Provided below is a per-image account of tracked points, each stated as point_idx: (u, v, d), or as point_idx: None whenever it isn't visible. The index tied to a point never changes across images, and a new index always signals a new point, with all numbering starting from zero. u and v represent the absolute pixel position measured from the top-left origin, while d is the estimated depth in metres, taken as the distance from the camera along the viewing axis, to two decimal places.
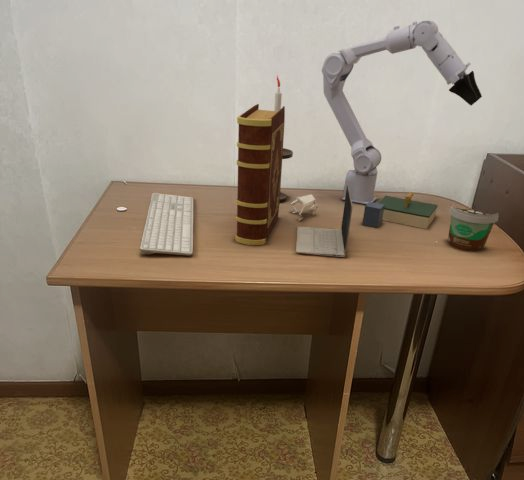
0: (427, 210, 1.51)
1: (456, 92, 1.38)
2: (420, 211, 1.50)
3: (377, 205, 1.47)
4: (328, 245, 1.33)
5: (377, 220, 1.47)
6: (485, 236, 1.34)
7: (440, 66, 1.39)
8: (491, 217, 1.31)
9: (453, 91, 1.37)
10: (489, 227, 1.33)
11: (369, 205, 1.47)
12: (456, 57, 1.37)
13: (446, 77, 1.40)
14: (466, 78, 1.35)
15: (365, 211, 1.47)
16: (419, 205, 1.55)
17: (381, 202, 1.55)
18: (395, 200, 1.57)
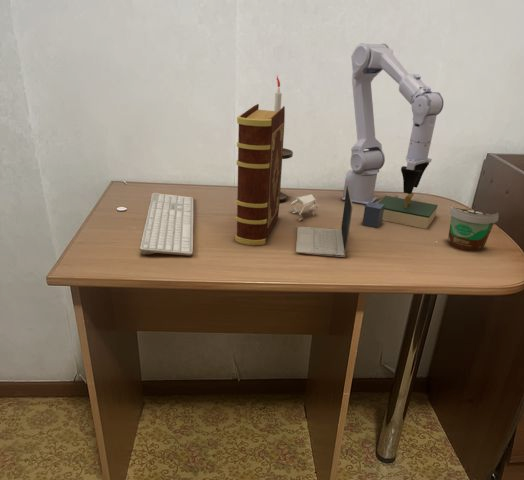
0: (427, 210, 1.51)
1: (403, 175, 1.45)
2: (420, 211, 1.50)
3: (377, 205, 1.47)
4: (328, 245, 1.33)
5: (377, 220, 1.47)
6: (485, 236, 1.34)
7: (412, 142, 1.43)
8: (491, 217, 1.31)
9: (402, 172, 1.45)
10: (489, 227, 1.33)
11: (369, 205, 1.47)
12: (427, 148, 1.43)
13: (409, 154, 1.45)
14: (417, 174, 1.43)
15: (365, 211, 1.47)
16: (419, 205, 1.55)
17: (381, 202, 1.55)
18: (395, 200, 1.57)
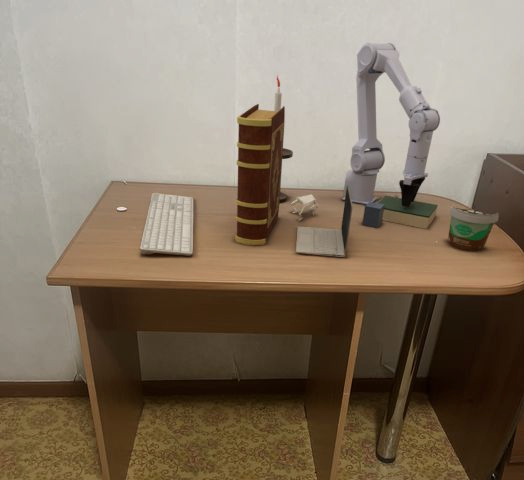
0: (427, 210, 1.51)
1: (402, 188, 1.48)
2: (420, 211, 1.50)
3: (377, 205, 1.47)
4: (328, 245, 1.33)
5: (377, 220, 1.47)
6: (485, 236, 1.34)
7: (409, 157, 1.45)
8: (491, 217, 1.31)
9: (400, 186, 1.48)
10: (489, 227, 1.33)
11: (369, 205, 1.47)
12: (424, 163, 1.45)
13: (406, 169, 1.47)
14: (415, 187, 1.46)
15: (365, 211, 1.47)
16: (419, 205, 1.55)
17: (381, 202, 1.55)
18: (395, 200, 1.57)
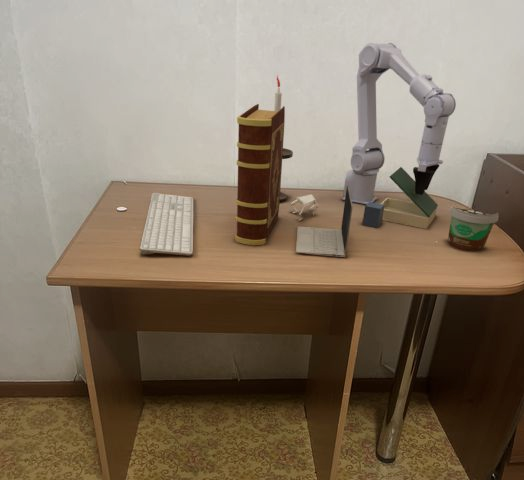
0: (429, 207, 1.50)
1: (415, 175, 1.45)
2: (424, 205, 1.49)
3: (377, 205, 1.47)
4: (328, 245, 1.33)
5: (377, 220, 1.47)
6: (485, 236, 1.34)
7: (424, 144, 1.42)
8: (491, 217, 1.31)
9: (414, 173, 1.44)
10: (489, 227, 1.33)
11: (369, 205, 1.47)
12: (439, 149, 1.42)
13: (420, 155, 1.44)
14: (429, 174, 1.43)
15: (365, 211, 1.47)
16: (424, 196, 1.53)
17: (396, 174, 1.50)
18: (407, 179, 1.53)
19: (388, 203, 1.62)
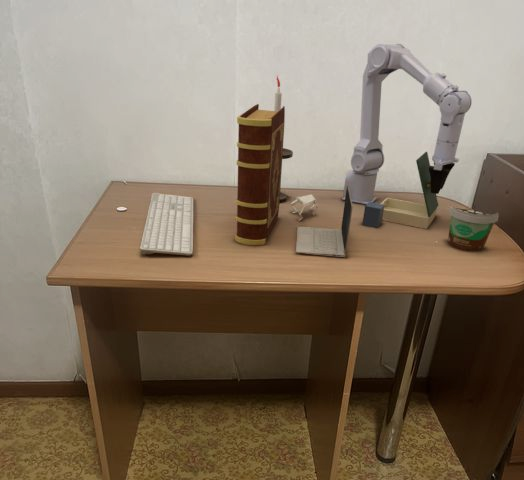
0: (432, 206, 1.50)
1: (431, 174, 1.43)
2: (430, 203, 1.48)
3: (377, 205, 1.47)
4: (328, 245, 1.33)
5: (377, 220, 1.47)
6: (485, 236, 1.34)
7: (440, 142, 1.40)
8: (491, 217, 1.31)
9: (430, 172, 1.42)
10: (489, 227, 1.33)
11: (369, 205, 1.47)
12: (455, 147, 1.40)
13: (435, 154, 1.42)
14: (446, 173, 1.40)
15: (365, 211, 1.47)
16: (432, 193, 1.51)
17: (421, 159, 1.45)
18: (427, 168, 1.49)
19: (388, 203, 1.62)
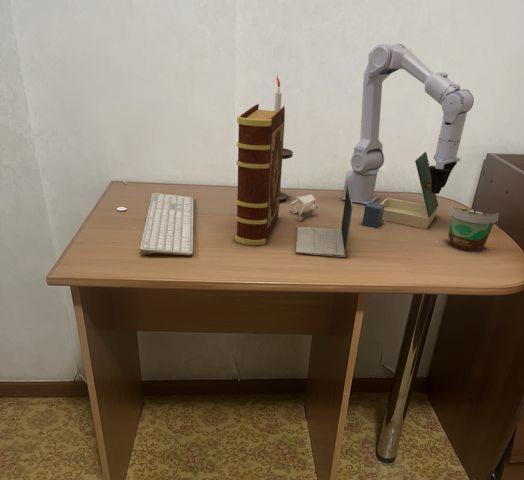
0: (432, 206, 1.50)
1: (432, 174, 1.42)
2: (429, 203, 1.48)
3: (377, 205, 1.47)
4: (328, 245, 1.33)
5: (377, 220, 1.47)
6: (485, 236, 1.34)
7: (441, 141, 1.39)
8: (491, 217, 1.31)
9: (431, 171, 1.41)
10: (489, 227, 1.33)
11: (369, 205, 1.47)
12: (456, 146, 1.39)
13: (437, 153, 1.42)
14: (446, 173, 1.39)
15: (365, 211, 1.47)
16: (432, 193, 1.51)
17: (421, 160, 1.45)
18: (426, 168, 1.49)
19: (388, 203, 1.62)
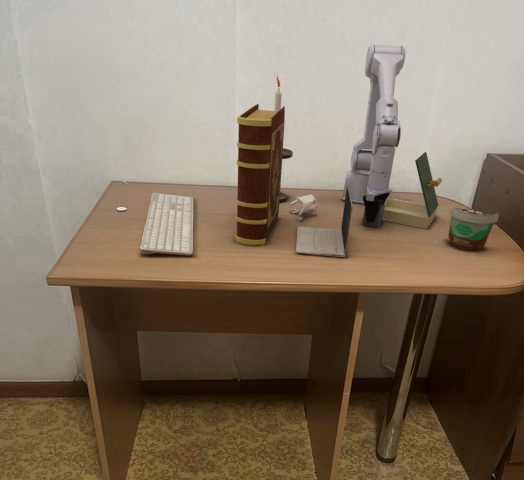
0: (432, 206, 1.50)
1: (365, 204, 1.44)
2: (429, 203, 1.48)
3: None
4: (328, 245, 1.33)
5: (377, 220, 1.47)
6: (485, 236, 1.34)
7: (372, 173, 1.41)
8: (491, 217, 1.31)
9: (364, 201, 1.44)
10: (489, 227, 1.33)
11: None
12: (387, 178, 1.41)
13: (369, 184, 1.43)
14: (379, 203, 1.42)
15: (365, 211, 1.47)
16: (432, 193, 1.51)
17: (421, 160, 1.45)
18: (426, 168, 1.49)
19: (388, 203, 1.62)
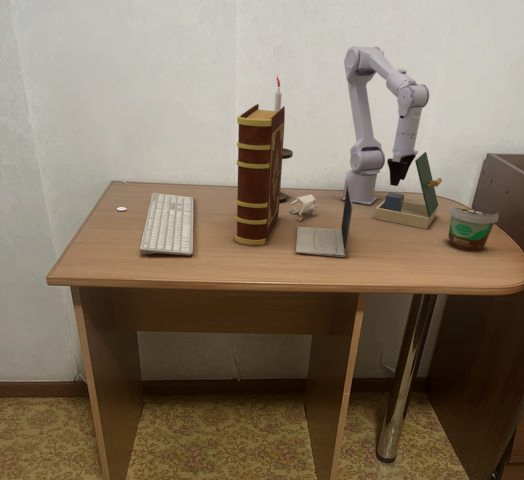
0: (432, 206, 1.50)
1: (390, 167, 1.46)
2: (429, 203, 1.48)
3: (397, 195, 1.54)
4: (328, 245, 1.33)
5: (397, 209, 1.54)
6: (485, 236, 1.34)
7: (399, 134, 1.43)
8: (491, 217, 1.31)
9: (389, 164, 1.45)
10: (489, 227, 1.33)
11: (390, 195, 1.54)
12: (413, 140, 1.43)
13: (395, 146, 1.46)
14: (403, 165, 1.43)
15: (386, 201, 1.54)
16: (432, 193, 1.51)
17: (421, 160, 1.45)
18: (426, 168, 1.49)
19: None
